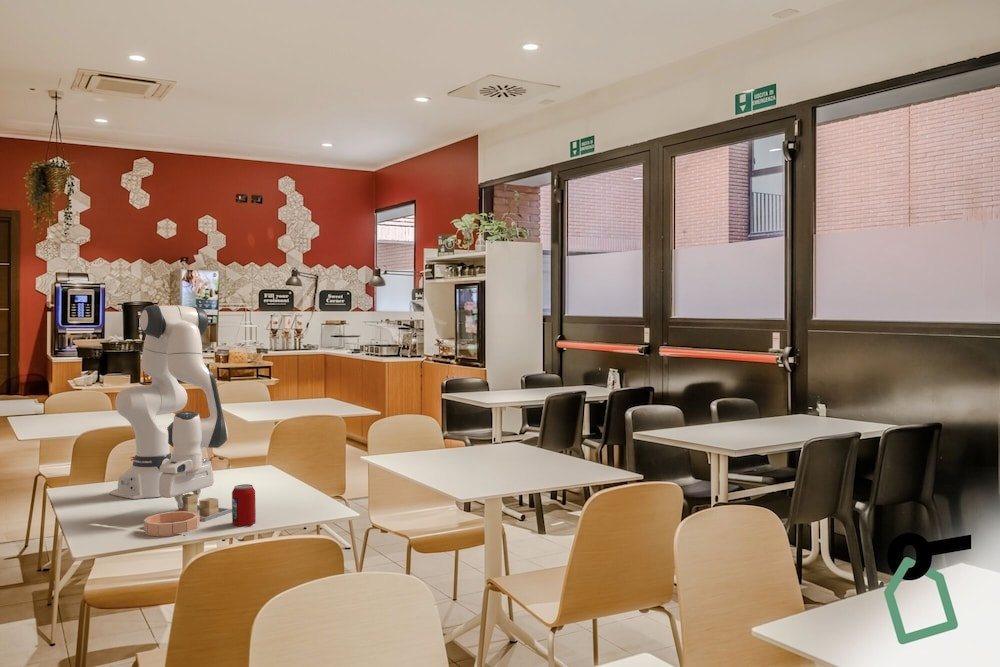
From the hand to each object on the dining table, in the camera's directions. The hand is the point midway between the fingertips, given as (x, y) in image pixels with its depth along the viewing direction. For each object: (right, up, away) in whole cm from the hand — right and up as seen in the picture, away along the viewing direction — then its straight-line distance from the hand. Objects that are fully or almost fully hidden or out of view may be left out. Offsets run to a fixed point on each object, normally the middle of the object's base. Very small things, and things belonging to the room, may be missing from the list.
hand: (187, 505), depth 259 cm
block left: (0, -2, 0) cm, 2 cm away
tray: (+4, -3, -2) cm, 5 cm away
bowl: (+2, -3, -17) cm, 18 cm away
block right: (+8, -2, -3) cm, 9 cm away
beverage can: (+22, -3, -13) cm, 26 cm away
